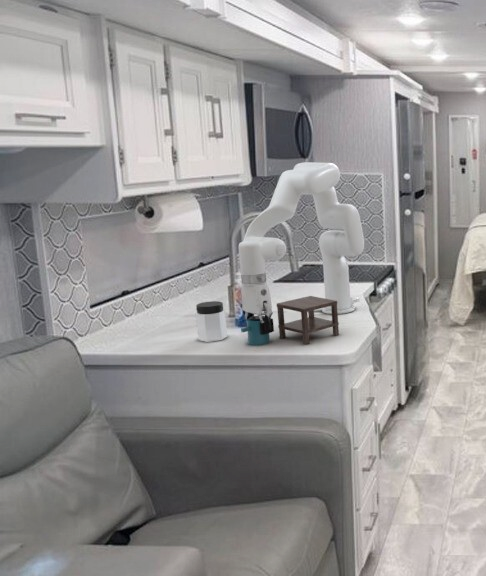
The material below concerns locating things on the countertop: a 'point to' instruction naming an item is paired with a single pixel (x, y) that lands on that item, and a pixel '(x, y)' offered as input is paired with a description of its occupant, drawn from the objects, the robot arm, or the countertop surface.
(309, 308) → the stand
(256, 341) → the kettle
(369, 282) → the countertop surface
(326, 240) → the robot arm
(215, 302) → the jar
